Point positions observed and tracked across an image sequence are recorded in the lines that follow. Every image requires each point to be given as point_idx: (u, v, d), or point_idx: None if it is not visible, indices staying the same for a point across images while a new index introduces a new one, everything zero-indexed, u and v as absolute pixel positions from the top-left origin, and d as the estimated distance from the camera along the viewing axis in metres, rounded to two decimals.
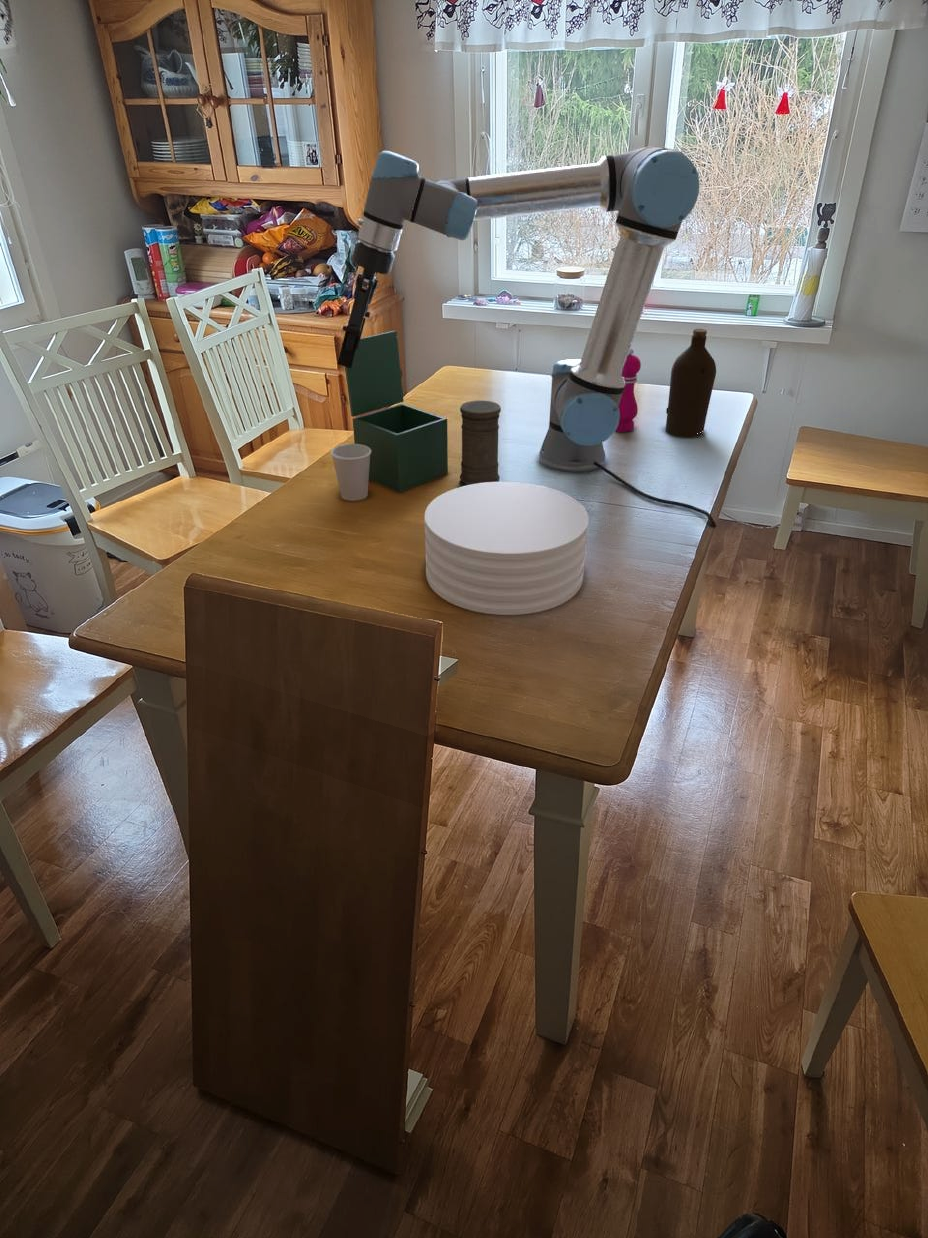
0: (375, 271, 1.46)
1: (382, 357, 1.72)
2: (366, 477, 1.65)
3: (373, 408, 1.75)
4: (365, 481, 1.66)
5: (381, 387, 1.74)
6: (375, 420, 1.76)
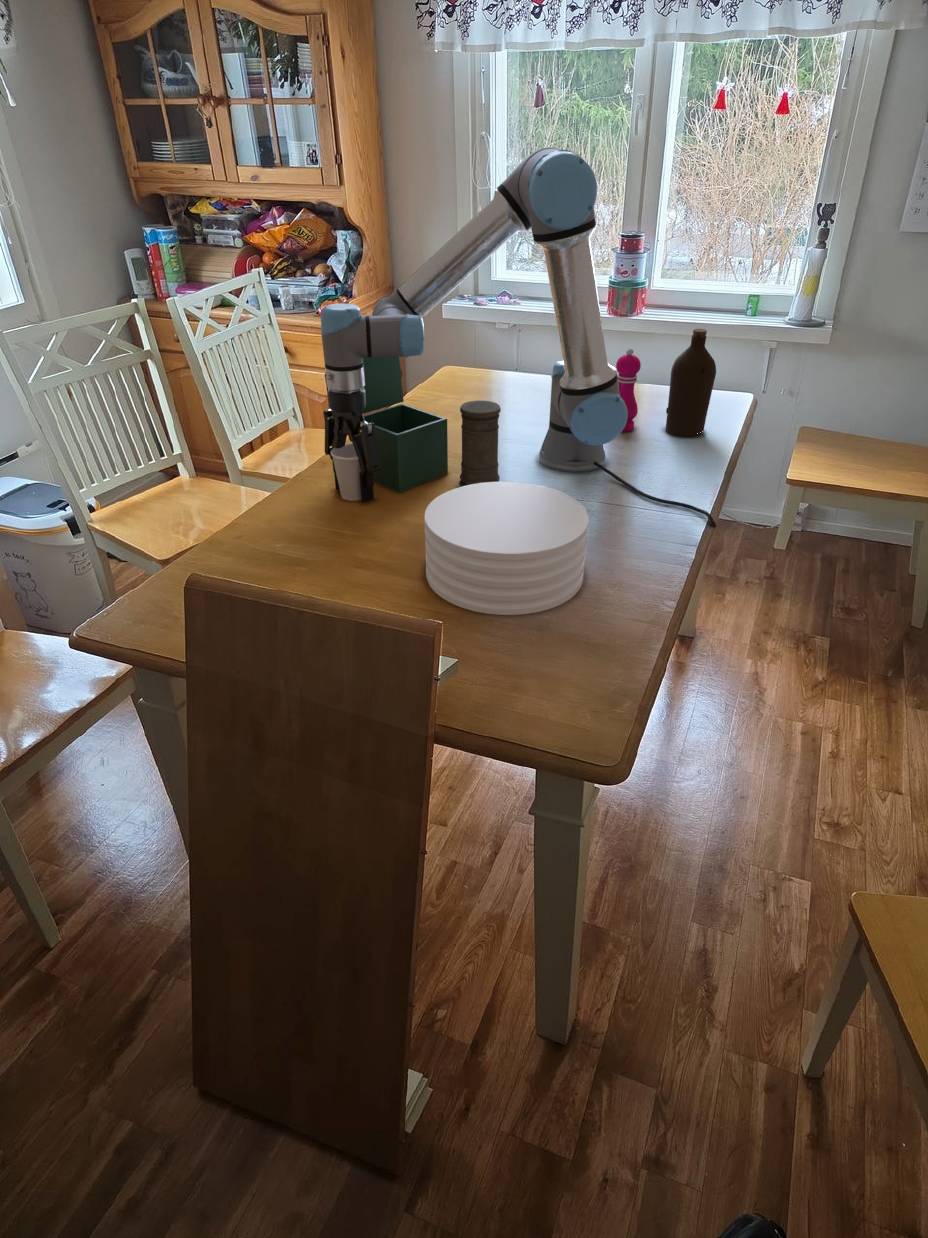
0: (363, 409, 1.57)
1: (382, 357, 1.72)
2: None
3: (373, 408, 1.75)
4: None
5: (381, 387, 1.74)
6: (375, 420, 1.76)
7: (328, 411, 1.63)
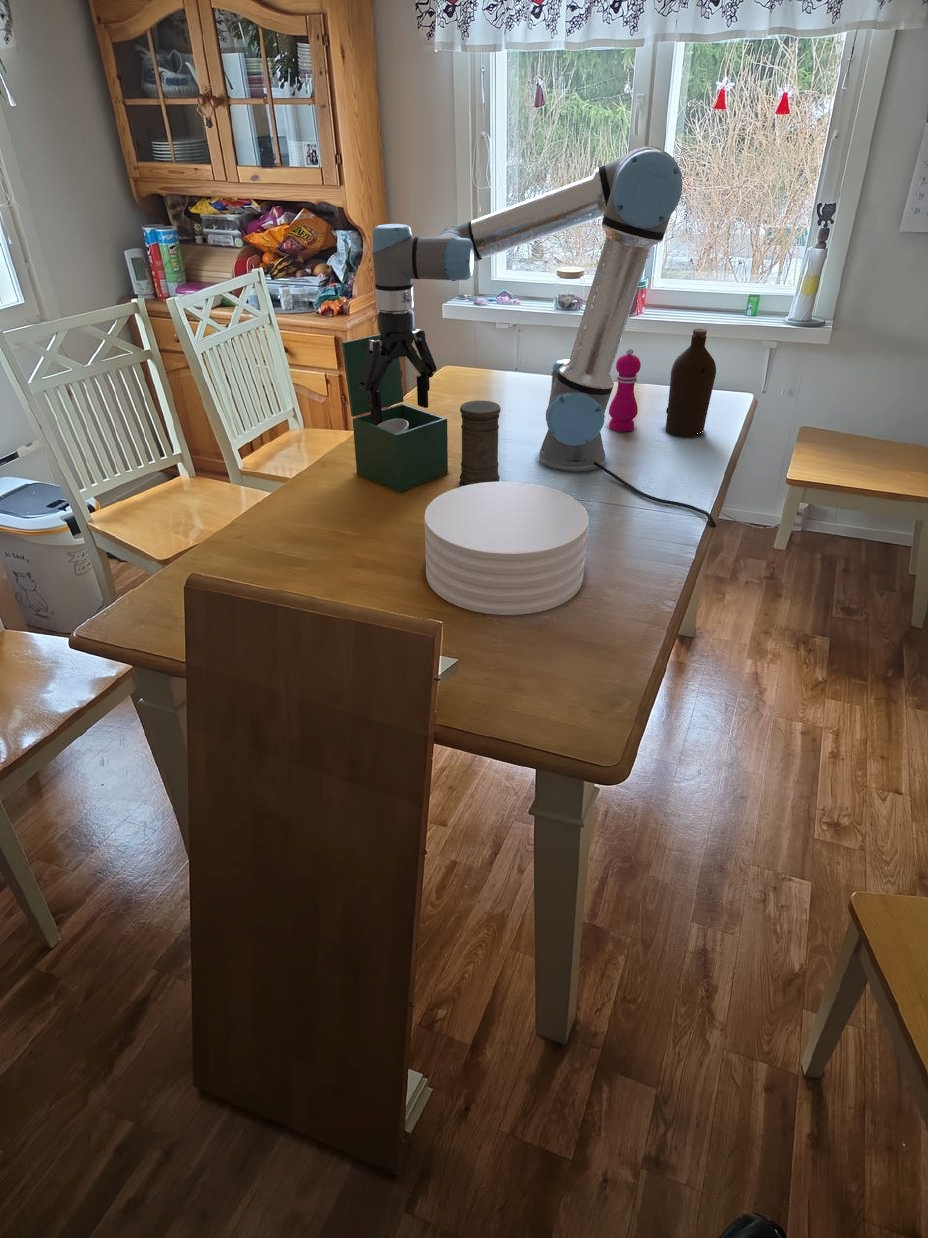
0: None
1: None
2: None
3: None
4: None
5: (381, 387, 1.74)
6: None
7: None
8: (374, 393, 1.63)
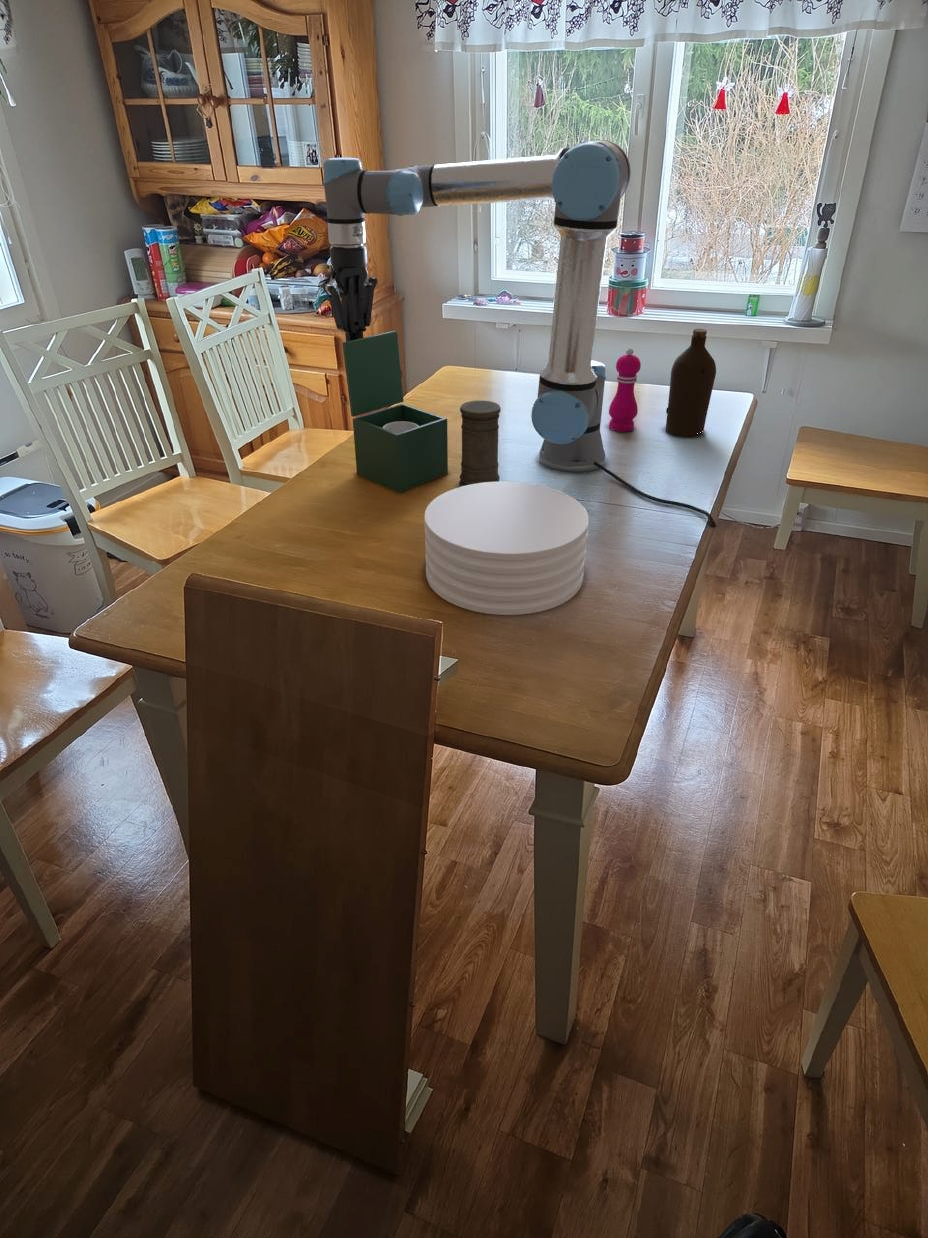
0: None
1: (382, 358, 1.72)
2: None
3: (373, 408, 1.75)
4: None
5: (381, 387, 1.74)
6: (375, 420, 1.76)
7: (331, 285, 1.62)
8: (352, 334, 1.71)
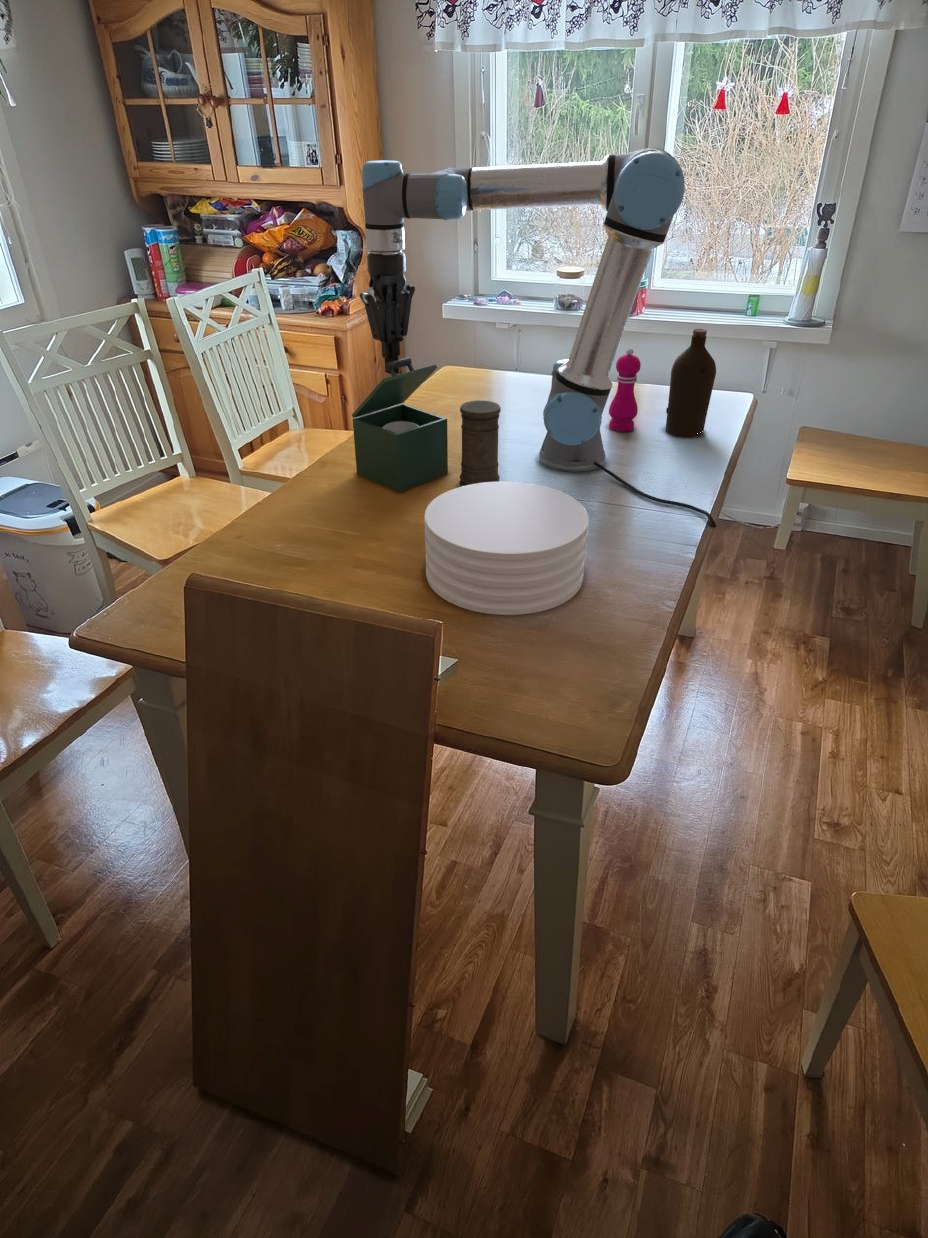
0: None
1: (409, 383, 1.69)
2: None
3: (374, 410, 1.75)
4: None
5: (392, 399, 1.73)
6: (375, 420, 1.76)
7: (368, 293, 1.55)
8: (388, 344, 1.64)
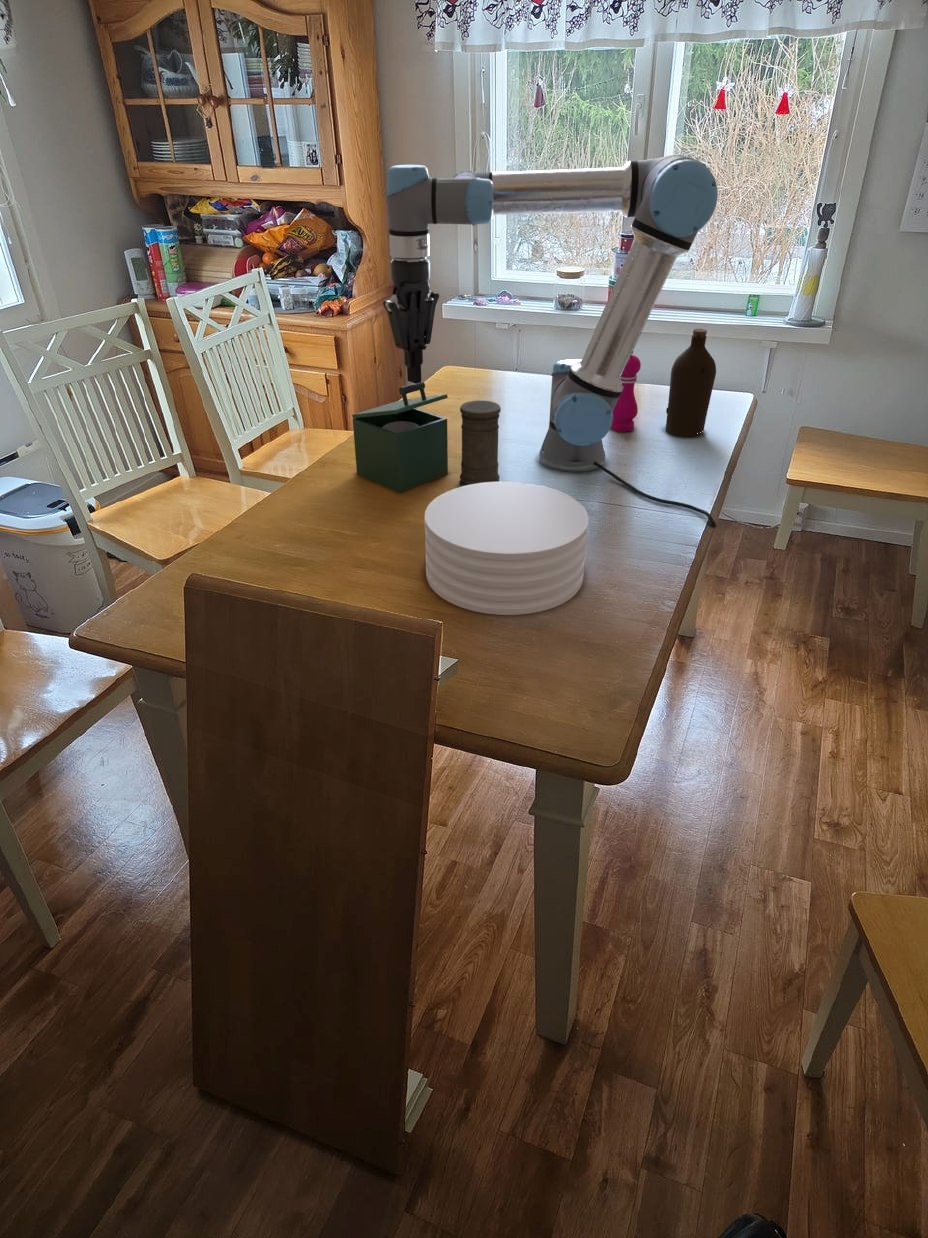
0: None
1: None
2: None
3: None
4: None
5: None
6: (375, 420, 1.76)
7: (392, 301, 1.51)
8: (411, 352, 1.60)
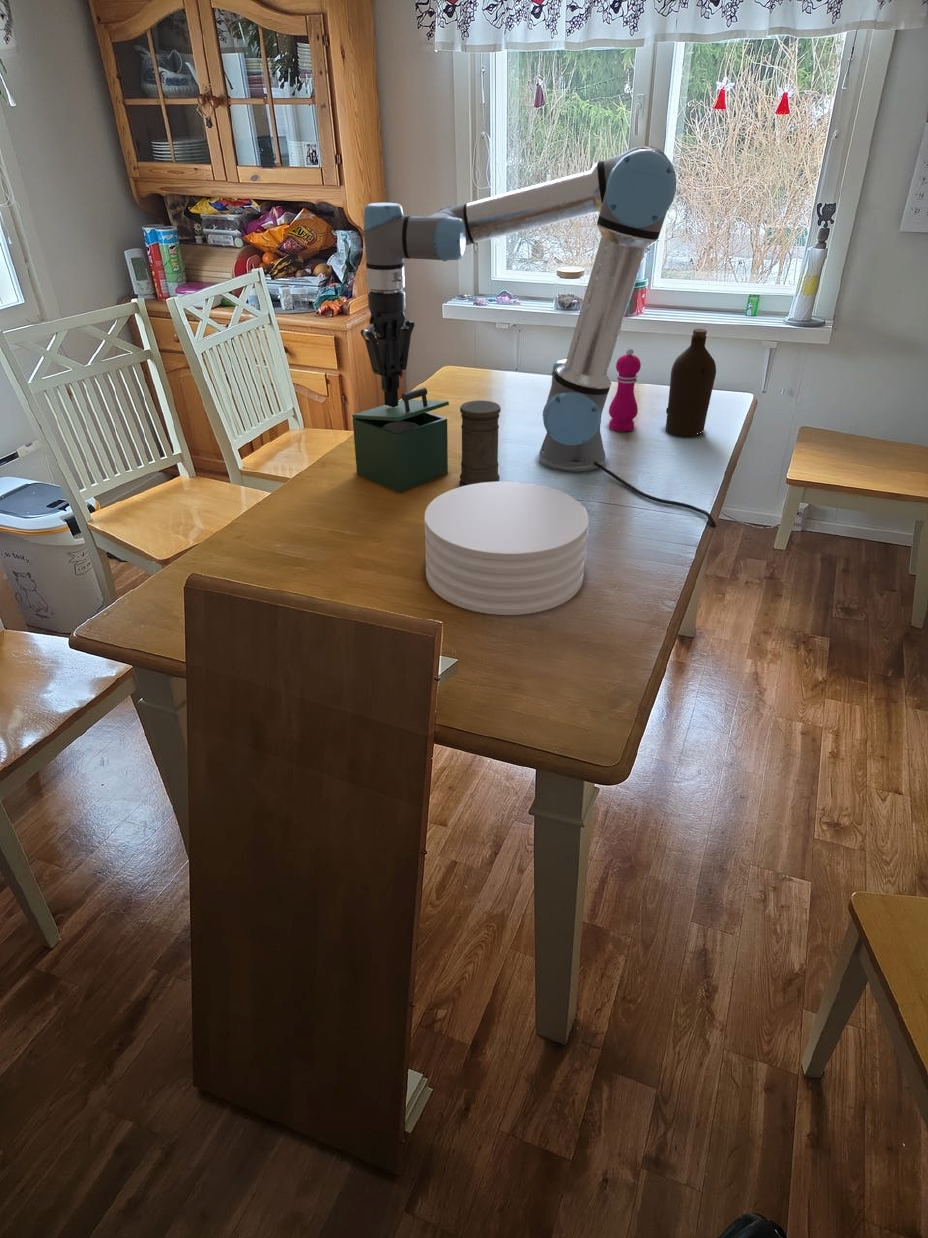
0: None
1: None
2: None
3: None
4: None
5: None
6: (375, 420, 1.76)
7: (369, 330, 1.59)
8: (388, 378, 1.68)
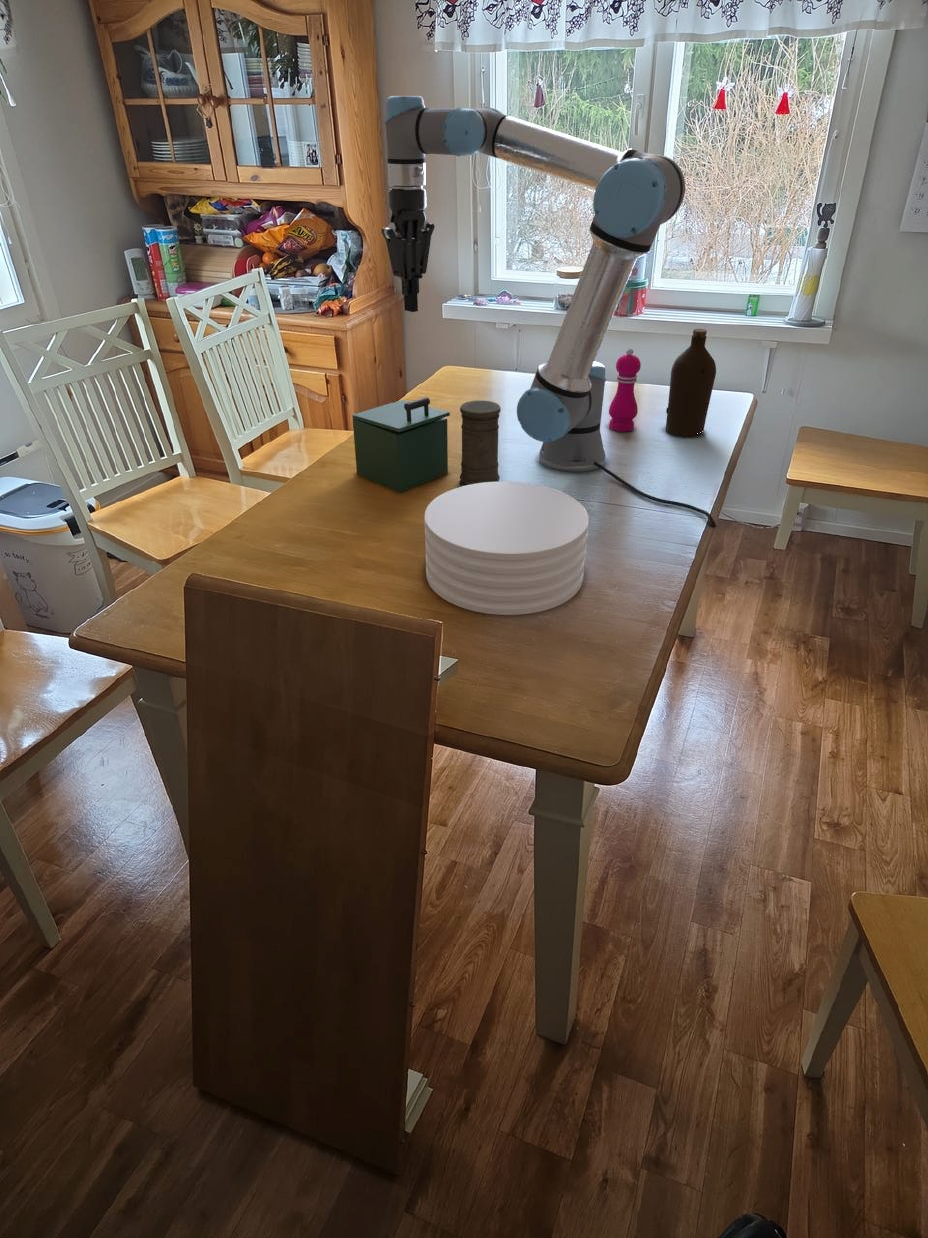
0: None
1: None
2: None
3: None
4: None
5: None
6: None
7: (390, 228, 1.59)
8: (408, 281, 1.68)
